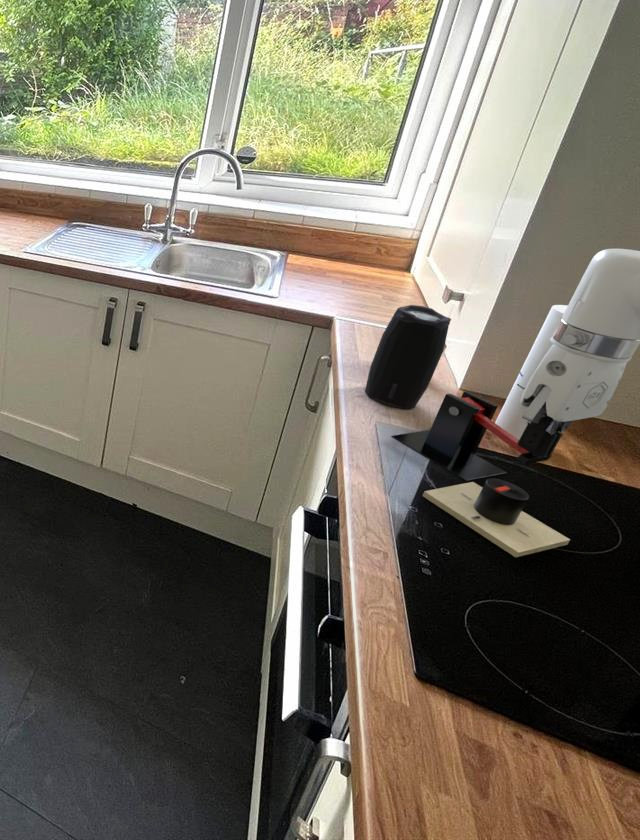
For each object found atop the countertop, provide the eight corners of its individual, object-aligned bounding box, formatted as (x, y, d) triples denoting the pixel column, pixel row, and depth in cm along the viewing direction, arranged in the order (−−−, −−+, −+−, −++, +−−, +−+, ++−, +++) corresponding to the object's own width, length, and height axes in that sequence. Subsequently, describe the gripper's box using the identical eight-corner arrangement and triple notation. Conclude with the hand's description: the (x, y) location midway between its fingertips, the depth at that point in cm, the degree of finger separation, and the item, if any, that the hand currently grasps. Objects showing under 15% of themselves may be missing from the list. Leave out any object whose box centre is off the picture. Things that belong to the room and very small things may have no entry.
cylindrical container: (537, 438, 104) (605, 311, 95) (551, 459, 99) (624, 326, 89) (485, 425, 108) (545, 301, 98) (495, 444, 102) (560, 315, 92)
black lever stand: (504, 479, 93) (536, 417, 89) (463, 487, 91) (494, 424, 87) (426, 435, 104) (452, 378, 99) (388, 441, 102) (412, 383, 97)
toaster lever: (544, 463, 87) (555, 452, 85) (520, 467, 85) (531, 456, 84) (465, 406, 96) (474, 395, 95) (443, 409, 95) (452, 399, 93)
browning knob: (487, 500, 85) (500, 474, 83) (522, 522, 81) (538, 494, 79) (465, 505, 84) (479, 479, 82) (501, 527, 80) (516, 500, 78)
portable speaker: (375, 387, 119) (409, 300, 112) (427, 411, 111) (467, 319, 104) (349, 395, 116) (383, 305, 109) (400, 420, 108) (441, 325, 101)
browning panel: (563, 550, 79) (571, 538, 78) (511, 563, 77) (518, 551, 76) (467, 491, 90) (473, 480, 89) (419, 501, 88) (424, 490, 87)
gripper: (592, 357, 73) (527, 474, 81) (667, 348, 77) (599, 460, 84) (522, 332, 80) (468, 441, 87) (595, 324, 84) (537, 430, 91)
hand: (533, 450), depth 86 cm, fingers closed
